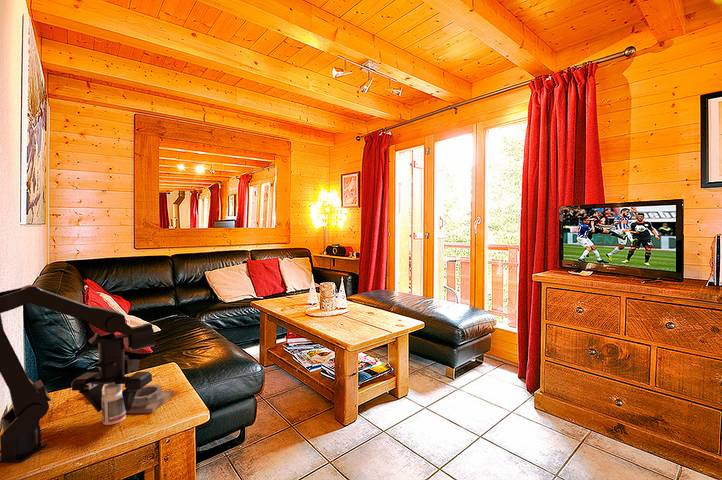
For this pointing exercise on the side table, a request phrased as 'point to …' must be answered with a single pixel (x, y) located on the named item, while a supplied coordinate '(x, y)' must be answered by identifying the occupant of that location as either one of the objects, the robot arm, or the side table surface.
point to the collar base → (153, 406)
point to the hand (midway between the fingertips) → (113, 411)
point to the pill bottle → (113, 404)
